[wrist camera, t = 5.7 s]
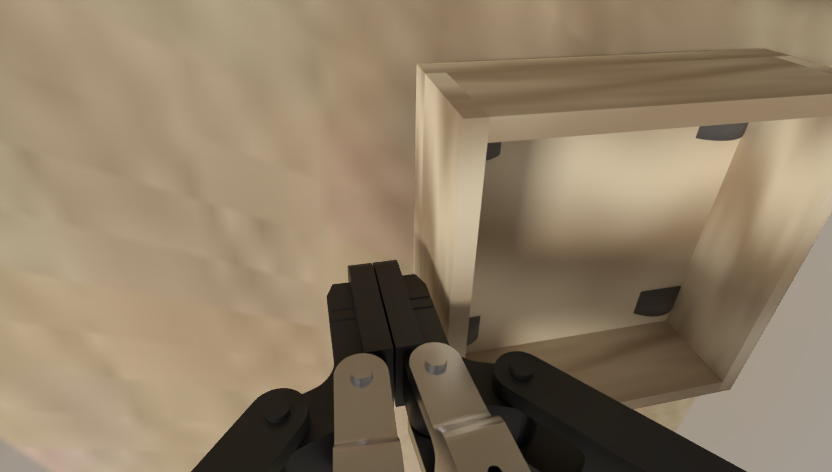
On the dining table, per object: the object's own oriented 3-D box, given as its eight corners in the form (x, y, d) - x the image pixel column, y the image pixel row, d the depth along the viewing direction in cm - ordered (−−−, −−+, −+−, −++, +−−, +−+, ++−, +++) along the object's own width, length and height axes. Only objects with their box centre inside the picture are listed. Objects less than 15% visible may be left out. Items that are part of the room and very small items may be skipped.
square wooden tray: (406, 52, 15) (463, 119, 10) (733, 39, 18) (901, 89, 13) (405, 330, 22) (439, 448, 17) (641, 294, 24) (730, 389, 19)
